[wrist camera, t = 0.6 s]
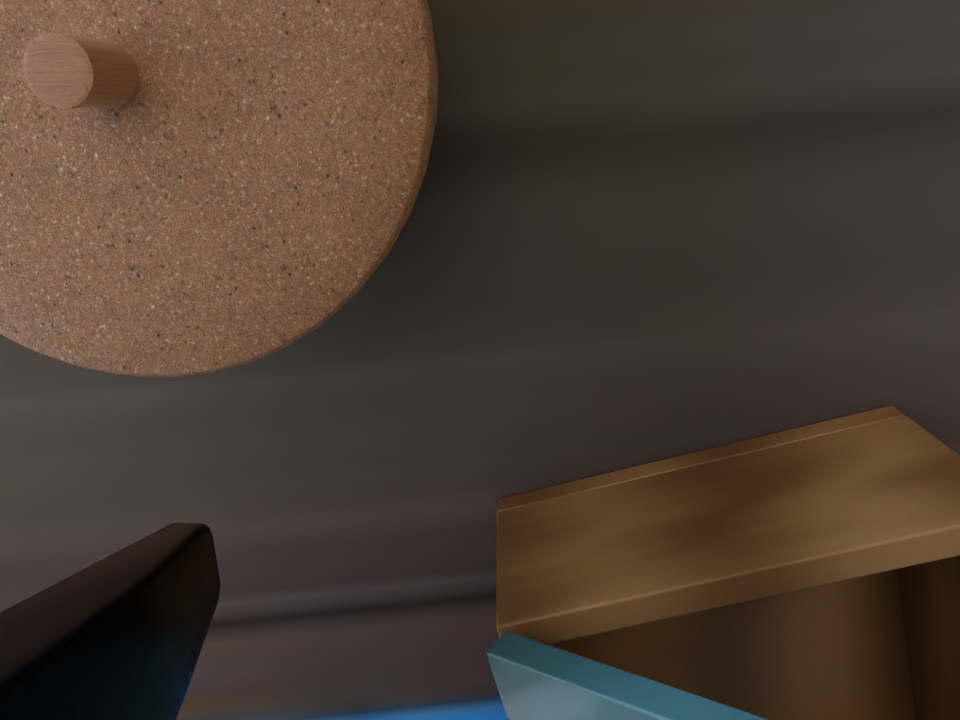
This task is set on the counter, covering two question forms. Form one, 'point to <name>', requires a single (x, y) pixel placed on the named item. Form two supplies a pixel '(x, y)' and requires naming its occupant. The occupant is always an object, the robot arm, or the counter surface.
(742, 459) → the toy box
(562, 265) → the counter surface
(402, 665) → the counter surface
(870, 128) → the counter surface
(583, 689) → the lid
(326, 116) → the trinket box
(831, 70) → the counter surface
